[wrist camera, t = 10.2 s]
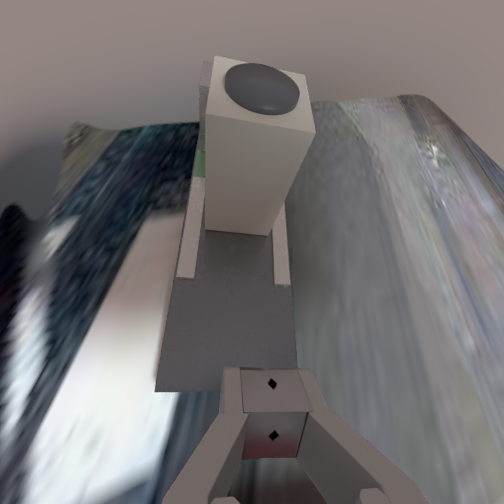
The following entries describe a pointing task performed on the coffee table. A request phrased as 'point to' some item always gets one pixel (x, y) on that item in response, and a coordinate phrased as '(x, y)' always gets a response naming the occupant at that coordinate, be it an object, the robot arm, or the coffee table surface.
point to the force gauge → (253, 143)
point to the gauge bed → (225, 294)
